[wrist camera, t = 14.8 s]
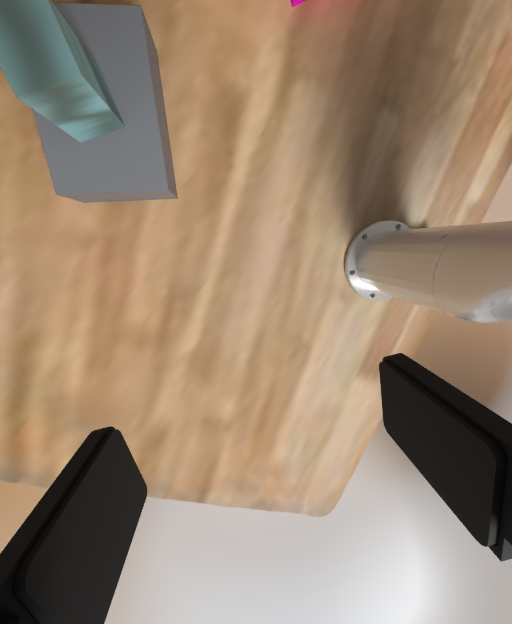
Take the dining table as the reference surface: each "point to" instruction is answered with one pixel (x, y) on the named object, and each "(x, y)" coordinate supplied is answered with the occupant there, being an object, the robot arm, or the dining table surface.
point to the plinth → (131, 105)
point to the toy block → (296, 2)
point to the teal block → (54, 70)
